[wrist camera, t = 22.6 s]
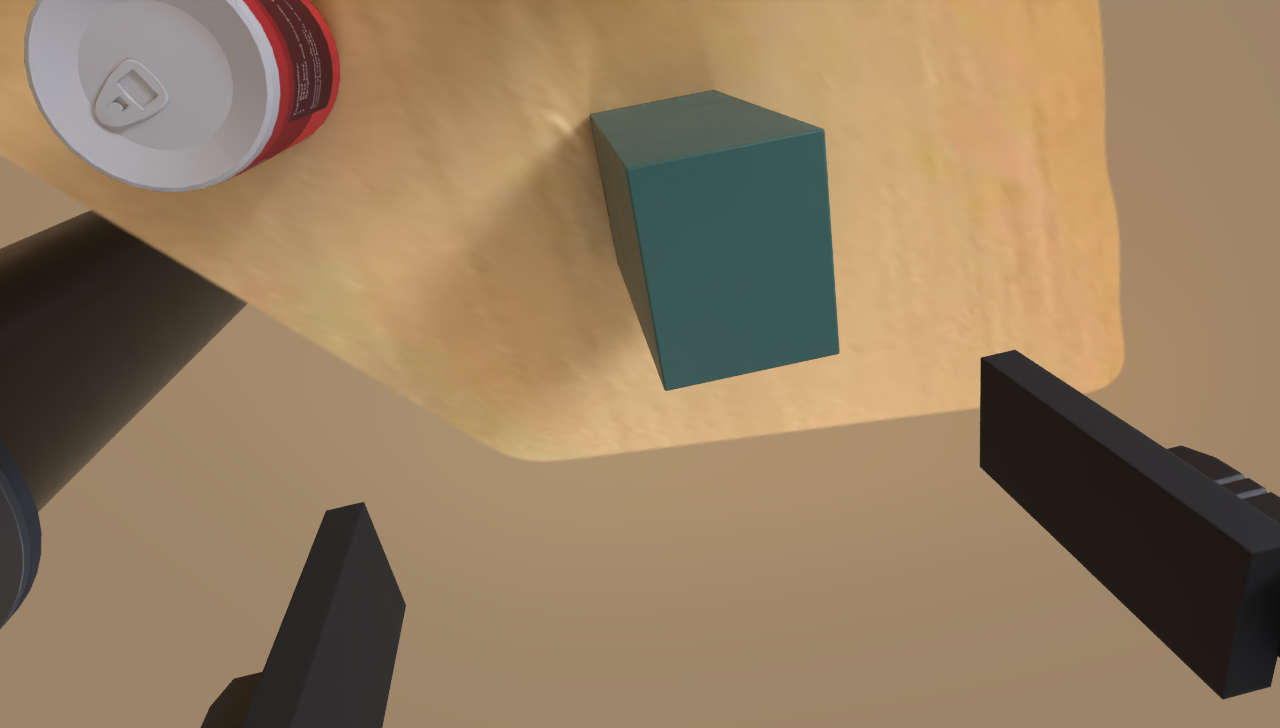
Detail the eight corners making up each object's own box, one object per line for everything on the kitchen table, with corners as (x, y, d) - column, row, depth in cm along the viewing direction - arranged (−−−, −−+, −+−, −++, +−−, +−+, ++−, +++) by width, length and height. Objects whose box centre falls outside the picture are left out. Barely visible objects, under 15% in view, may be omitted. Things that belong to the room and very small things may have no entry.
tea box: (664, 392, 27) (625, 168, 24) (618, 265, 42) (589, 114, 39) (840, 354, 28) (825, 128, 24) (733, 241, 42) (714, 89, 39)
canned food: (134, 80, 35) (-21, 102, 25) (219, -73, 34) (88, -114, 24) (289, 182, 38) (203, 239, 28) (376, 46, 36) (318, 55, 26)
